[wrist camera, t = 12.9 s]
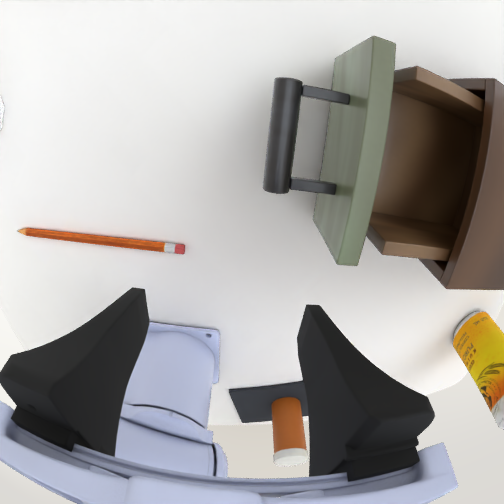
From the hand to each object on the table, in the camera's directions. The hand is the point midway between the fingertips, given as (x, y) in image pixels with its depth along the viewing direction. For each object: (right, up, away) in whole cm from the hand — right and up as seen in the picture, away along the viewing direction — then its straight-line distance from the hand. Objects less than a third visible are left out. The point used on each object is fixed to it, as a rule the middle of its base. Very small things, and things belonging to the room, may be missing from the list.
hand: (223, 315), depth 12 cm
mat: (+5, -15, +19) cm, 25 cm away
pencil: (-13, +4, +9) cm, 16 cm away
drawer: (+10, +10, +5) cm, 15 cm away
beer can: (+28, -7, +14) cm, 32 cm away
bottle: (+5, -16, +18) cm, 25 cm away
